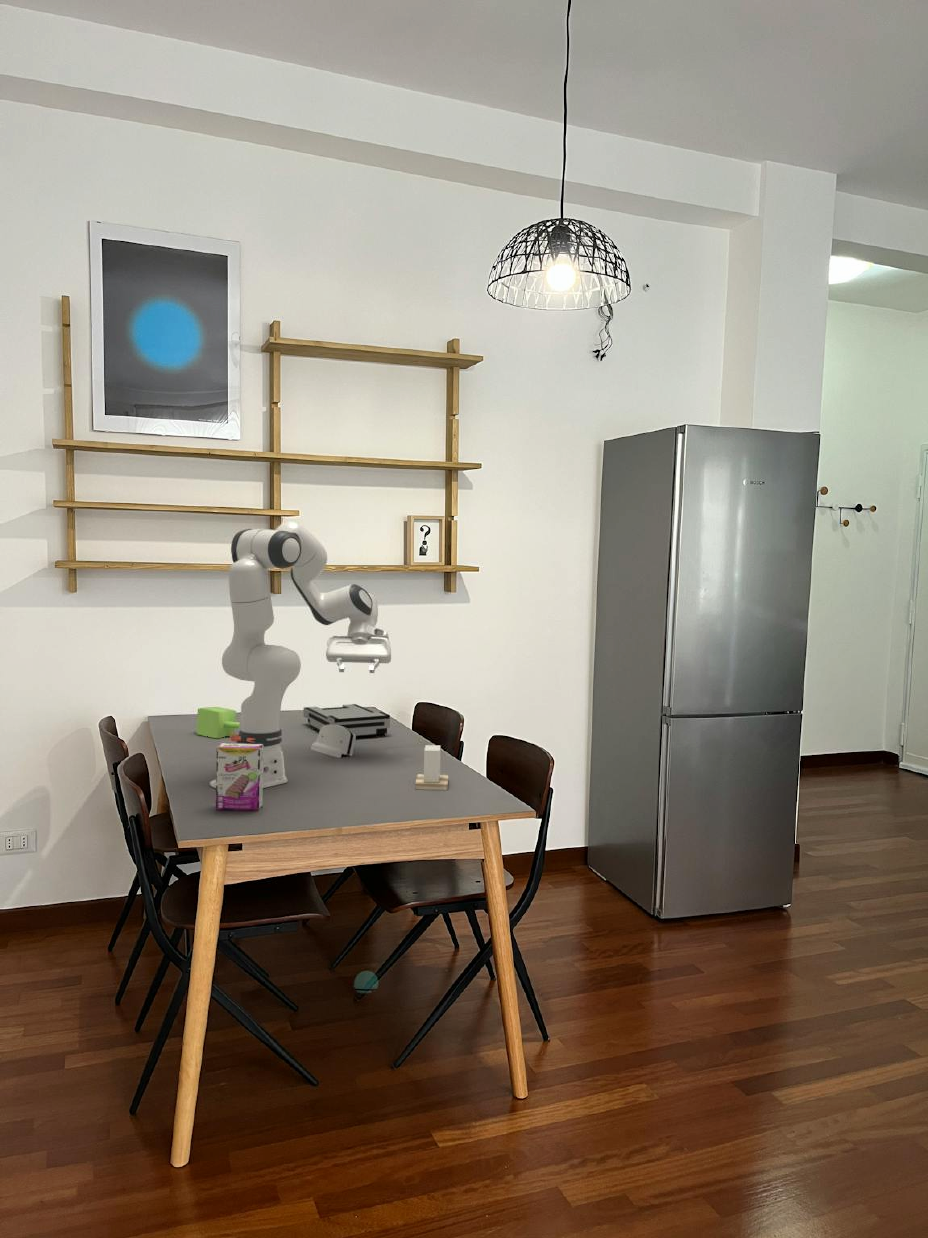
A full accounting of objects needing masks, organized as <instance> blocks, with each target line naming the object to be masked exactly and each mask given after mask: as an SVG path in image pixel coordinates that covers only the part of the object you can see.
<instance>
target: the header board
mask: <svg viewBox="0 0 928 1238" xmlns="http://www.w3.org/2000/svg"><path fill="white" fill-rule="evenodd" d="M448 784H449V774H440V779H439V782H424V773H423V774H422V773H421V774H420V773H419V774H417V775H416V780H415V784H414V790H432V791H433V790H434V791H435V790H436V791H437V790H438V791H440V790H441V791H447V790H448V786H449V785H448Z"/></svg>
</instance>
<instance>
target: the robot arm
mask: <svg viewBox="0 0 928 1238" xmlns="http://www.w3.org/2000/svg"><path fill="white" fill-rule="evenodd" d="M230 546H231V547H230V554H231V560H232V562H233V563H232V564H231V565H230V567H229V572H228V573H229V575H228V588H229V589H228V590H229V599H230V606H231V611H232V620H233V635H232V639H231V642H230V644H229V645H228V646H227V647H226V648H225V649H224V651H223V654H222V657H221V665H222V669H223V671H224V672H225V674H227V675H228V676H230V677H232V678H235V679H237V680H240V681H247V682H253V683H254V686H253V690H252V692H251V694H250V696H248V697H246V698H245V699H244V700H243V701H242V703H241V705H240V730H239V732H238V734H236V733H235V734H232V735H231V736H229V739H230V741H231V742H235V744H263V789H264V788H265V789H266V788H269V787H274V786H278V785H282V784H287V783H288V781H289V780H288V778H287V776H286V771H285V761H284V759H285V758H284V752H283V750H282V745H281V743H282V741H283V740H282V739H283V733H282V729H281V713H282V712H281V711H282V710H281V709H282V702H283V698H284V695H285V693H286V690H287V689H288V687H289V686H290V685H291V684H293V682H294V681H295V680H296V679H297V678H298V677H299V675H300V671H301V668H302V667H301V666H302V665H301V659H300V656H299V654H298V653H297V651H295V650H293V649H290V648H288V647H285V646H282V645H275V644H266V643H265V633H266V631H268V630H269V629H270V628H271V626H273V624H274V621H275V617H274V609H273V604H272V603H273V602H272V597H271V591H270V585H269V581H268V574H269V570H270V569H279V570H280V569H282V570H283V569H288V568H290V579H291V581H292V582H293V585H294V586H295V588H296V590H297V591H298V592H299V594H300V595H301V598H302V599H303V600H304V602H305V603H306V604H307V606H308V607H309V610H310V611H311V614H312V616H313V618H314V620H315V621H317V622H318V623H320V624H321V625H323V626H330V625H332V624H334V623H336V622H339V621H342V620H345V619H349V621H350V623H349V624H348V628H347V629H348V630H347V634H346V635H341V636H340V635H339V636H338V635H332V637H331V636H330V637H329V638H328V640H327V643H326V644H327V648H326V651H325V656H326V660H327V661H328V662H329V663H336V665H337V666H338V672H339V673H345V670H346V669H345V665H344V664H342V663H352V664H353V663H356V664H357V663H359V664H372V665H370V666H369V671H368V672H369V674H375V672H376V669H377V668H378V667H379V666H380V664H389V663H391V662H392V651H391V642H390V639H389V633H388V631H387V630H384V629H381V628H378V627H376V625H377V622H378V616H379V608H378V601H377V600H378V599H376V596H374V595H373V594H372V593H370V592H367V590H366V589H364V588H363V587H362V586H360V585H357V584H356V583H354V584H349V585H347V586H346V585H345V586H343V587H340V588H338V589H335V590H332V591H331V590H330V591H329V592H320V590H319V589H318V588H317V586H316V585H315V583H314V582H313V581H314V580H315V579H316V578H318V577H319V576H320V575H321V574H322V573H323V571H324V570H325V568H326V566H327V562H328V552H327V550H326V549H325V547H324V545H322V543H321V542H320V541H319V540H318V539H317V538H316V537H315V535H313V534H312V532H311V531H309V530H308V529H307V528H305V526H302V524H299V523H298V522H296V521H292V520H288V521H284V522H283V523H281V524H279V525H278V526H277V527H276V529H269V528H254V529H252V528H247V529H243V530H240V531H239V532H237V533H235V535H234V537H233V538H232V541H231V545H230ZM209 786H210V787H212V788H214V789H216V779H213V780H211V781H209Z"/></svg>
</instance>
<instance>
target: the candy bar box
mask: <svg viewBox="0 0 928 1238" xmlns="http://www.w3.org/2000/svg"><path fill="white" fill-rule="evenodd" d="M215 775H216V777H215V778H216V788H215V792H216V793H215V808H216V810H219V811H220V810H223V811H224V810H225V811H230V810H231V811H260V810H259V809H261V808H262V807H261V806H263V802H264V800H263V799H264V798H263V797H264V796H263V795H264V793H263V792H264V788H263V744H237V743H236V742H235V743H233V742H232V743H231V742H230V743H229V742H228V743H227V742H223V743H222V742H221V743H220V744H218V745H217V746H216V774H215ZM260 807H261V808H260Z"/></svg>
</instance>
